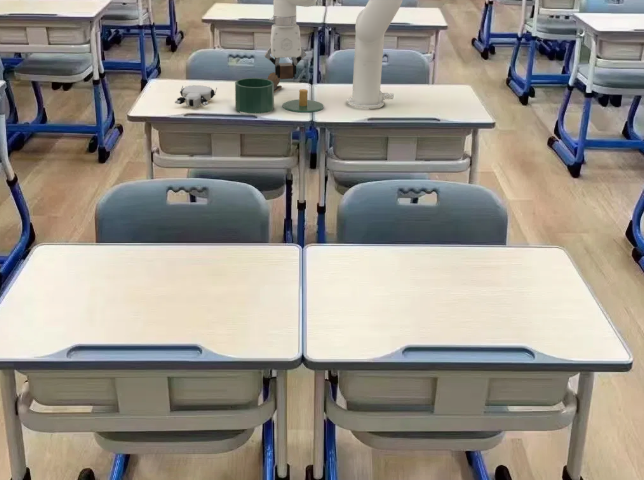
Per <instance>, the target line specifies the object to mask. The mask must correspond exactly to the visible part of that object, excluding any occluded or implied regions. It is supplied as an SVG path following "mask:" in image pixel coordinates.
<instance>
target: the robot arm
mask: <svg viewBox="0 0 644 480" xmlns="http://www.w3.org/2000/svg"><path fill="white" fill-rule="evenodd" d="M403 1H404V0H368V1H367V3H366V4H365V7H364V9H362V10H361V11H359V13H358V15H357V16H356V20H355V27H354V29H355V39H354V54H353V55H354V57H353V73H352V94H351V97H349V98H347V100H346V103H347V104H348V105H350V106H352V107H355V108H361V109H368V110H375V109H379V108H382V107H383V106H384V105H385V100H394V93H389V92H382V90H381V86H382V73H383V72H382V70H383V59H384V46H385V45H384V43H385V34H386V32H387V30H388V29H389V27H390V25H391V23H392V22H393V20H394V18H395V17H396V15H397V13H398V12H399V9H400V8H401V6H402V3H403ZM272 2H273V3H272V5H273V15H272V17H269V21H268V22H269V23H273V24H272V25H271V29H270V41H269V47H268V49H267V50H266V52H265V53H264V57H265V58H266V59H267V60H268V61H270V62H271V63H272V64H273V65H274V72H275V75H277V77H278V78H280V66H279V63H280V60H281V59H282V58H283V59H284V58H285V59H286V58H291V61H292V62H291V64H292V65H293V79H294V78H296V75H297V66H298V64H299V63H300V62H301V61H302V59H304V58H305V57H306V56H307V53H306V51H305V50H304V48H303V47H302V39H301V31H300V26H299V24H297V6H298V7H304V8H305V7H306V8H308V7H313V6H314V5H316V3H317V2H318V0H273V1H272Z"/></svg>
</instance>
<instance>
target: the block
mask: <svg viewBox="0 0 644 480" xmlns="http://www.w3.org/2000/svg"><path fill="white" fill-rule="evenodd" d="M279 66H280V80H292V79H294V78H293V65H292V62H279Z"/></svg>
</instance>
